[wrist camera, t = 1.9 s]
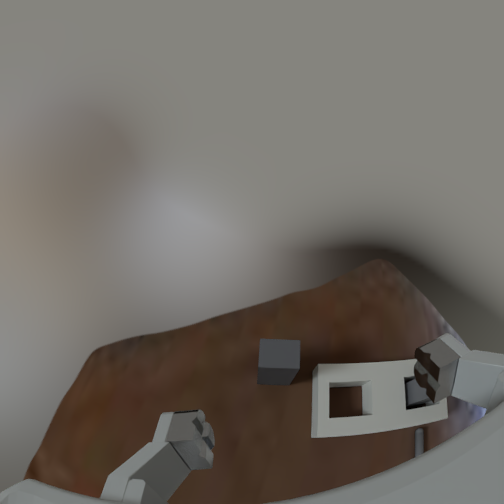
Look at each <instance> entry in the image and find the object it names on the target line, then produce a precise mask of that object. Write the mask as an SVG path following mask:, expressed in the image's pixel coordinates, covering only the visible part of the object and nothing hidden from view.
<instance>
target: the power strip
mask: <svg viewBox="0 0 504 504" xmlns="http://www.w3.org/2000/svg"><path fill="white" fill-rule="evenodd" d="M416 362H417V359H411V360H401V361H388V362H373V363H350V364H318V365H317V366H316V367H315V369H314V370H313V390H312V429H311V438H318V437H337V436H349V435H359V434H368V433H376V432H383V431H389V430H395V429H401V428H406V427H412V426H416V425H421V424H426V423H430V422H434V421H438V420H442V419H446V418H448V412H447V398H444V399H442V400H440V401H438V402H436V403H435V404H434V403H433V402H432V401H431V400H430V398H429V397H428V396H427V395H426V389H425V388H422V387H420V386H419V385H418V383H417V382H416V380H415V376H414V365H415V364H416ZM408 381H410V382H408ZM404 382H408V383H406V384H404ZM353 386H362V410H363V416H355V417H342V418H329V387H353ZM424 403H426V407H421V408H416V409H410V410H406V407H409V406H415V405H420V404H424ZM423 453H424V431H423V429H422V428H418V429H417V430H416V431H415V457H417V456H419V455H421V454H423Z"/></svg>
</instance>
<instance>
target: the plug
mask: <svg viewBox="0 0 504 504" xmlns="http://www.w3.org/2000/svg"><path fill="white" fill-rule="evenodd" d="M299 369H300V340H277V339H260V350H259V365H258V380H257V384H267V385H290V383H291V382H292V380H293V379H294V377H295V375H296V374H297V372H298V371H299Z"/></svg>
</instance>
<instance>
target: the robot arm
mask: <svg viewBox="0 0 504 504" xmlns="http://www.w3.org/2000/svg"><path fill="white" fill-rule="evenodd" d="M415 358H416V359H417V362H416V364H415V365H414V376H415V380H416V382H417V383H418V385H419V386H420V387H422V388H425V389H426V395H427V396H428V397H429V398H430V400H431V401H432V402H433V403H434V404H435V403H436V402H438V401H440V400H442V399H444V398H446V397H448V396H450V395H451V396H454V397H456V398H459V399H462V400H464V401H467V402H470V403H472V404H475V405H478V406H480V407H483V408H486V409H487V410H486V413H485V415H484V417H482V418H481V419H479V420H478V421H477V422H475V423H474V424H472V425H471V426H469V427H468V428H466V429H465V430H463V431H461V432H460V433H458V434H457V435H455V436H453V437H452V438H450V439H448V440H447V441H445V442H443V443H441V444H440V445H438V446H436V447H434V448H432V449H431V450H429V451H427V452H425V453H423V454H421V455H419V456H417V457H415V458H413V459H411V460H409V461H407V462H404V463H402V464H400V465H398V466H396V467H393V468H391V469H389V470H386V471H384V472H381V473H379V474H376V475H373V476H371V477H368V478H365V479H363V480H360V481H357V482H354V483H351V484H348V485H345V486H341V487H338V488H335V489H331V490H328V491H324V492H320V493H316V494H312V495H308V496H303V497H299V498H294V499H289V500H283V501H278V502H271V503H264V504H504V354H498V353H492V352H485V351H478V350H473V351H470V350H469V349H468V348H467V347H465V346H464V345H463V344H462V343H460V342H459V341H458V340H457V339H455V338H454V337H453V336H452V335H450V334H448V333H446V334H444V335H442V336H441V337H439V338H437V339H435V340H433V341H431V342H429V343H427V344H425V345H423V346H420V347H418V348H416V350H415ZM213 447H214V433H213V430H212V428H211V426H210V424H209V423H207V422H205V415H204V413H203V411H202V410H189V411H178V412H167V413H162V414H161V416H160V419H159V422H158V425H157V429H156V432H155V435H154V438H153V441H152V443H148V444H147V445H145V446H144V447H143V448H142V449H141V450H139V451H138V452H137V453H136V454H135V455H133V456H132V457H131V458H130V459H129V460H127V461H126V462H125V463H124V464H122V465H121V466H120V467H119V468H117V469H116V470H115V471H114V472H112V473H111V474H110V475H109V476H108V478H107V481H106V484H105V486H104V489H103V492H102V494H101V497H100V499H99V498H94V497H90V496H86V495H82V494H78V493H74V492H70V491H67V490H63V489H60V488H57V487H54V486H51V485H48V484H45V483H42V482H39V481H37V480H33V479H26V480H24V481H22V482H19V483H17V484H15V485H14V486H12V487H10V488H8V489H6V490H4V491H3V492H1V493H0V504H168V503H167V502H166V501H167V500H168V499H169V498H170V497H171V495H172V494H173V493H174V492H175V490H176V489H177V488H178V487H179V486H180V484H181V483H182V482H183V480H184V479H185V478H186V477H187V475H188V474H189V473H190V472H191V470H197V469H208V468H212V466H213V453H212V452H211V449H212V448H213Z"/></svg>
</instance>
